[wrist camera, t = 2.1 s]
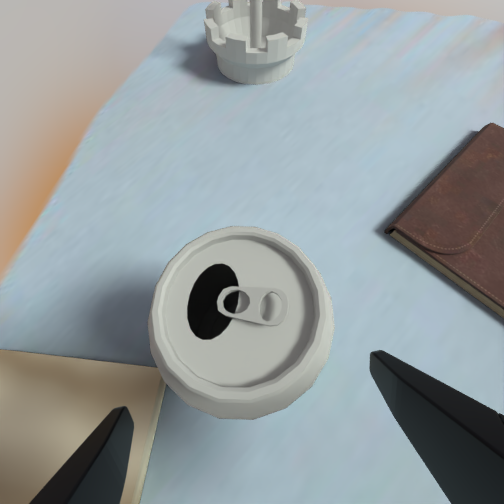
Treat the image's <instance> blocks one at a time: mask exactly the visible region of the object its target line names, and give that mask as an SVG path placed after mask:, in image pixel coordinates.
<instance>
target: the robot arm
mask: <svg viewBox="0 0 504 504" xmlns="http://www.w3.org/2000/svg"><path fill="white" fill-rule="evenodd" d="M370 373H371V375H372V377H373V379H374V381H375V383H376V385H377V386H378V388H379V390H380V392H381V394H382V396H383V398H384V399H385V401H386V403H387V405H388V407H389V409H390V411H391V412H392V414H393V416H394V418H395V419H396V421H397V422H398V424H399V425H400V427H401V428H402V430H403V431H404V433H405V434H406V436H407V437H408V439H409V440H410V442H411V444H412V445H413V447H414V448H415V450H416V451H417V453H418V454H419V456H420V457H421V459H422V460H423V462H424V463H425V465H426V466H427V468H428V469H429V471H430V472H431V474H432V475H433V477H434V478H435V480H436V481H437V483H438V484H439V486H440V487H441V489H442V490H443V492H444V493H445V495H446V496H447V498H448V499H449V501H450V503H451V504H504V415H502V414H500V413H499V414H498V413H497V412H496V411H494V410H493V409H491V408H489V407H487V406H485V405H483V404H481V403H480V402H478V401H476V400H474V399H472V398H470V397H468V396H467V395H465V394H463V393H461V392H459V391H457V390H455V389H454V388H452V387H450V386H448V385H446V384H444V383H442V382H440V381H439V380H437V379H435V378H433V377H431V376H429V375H427V374H426V373H424V372H422V371H420V370H418V369H416V368H414V367H413V366H411V365H409V364H407V363H405V362H403V361H401V360H400V359H398V358H396V357H394V356H392V355H390V354H388V353H386V352H385V351H382V350H378V351H373V352H371V353H370ZM133 432H134V421H133V419H132V417H131V414H130V412H129V410H128V408H127V407H126V406H121V407H117V408H114V409H112V410H111V411H110V413H109V414H108V415H107V416H106V417H105V418H104V419H103V420H102V422H101V423H100V424H99V425H98V426H97V427H96V428H95V429H94V431H93V432H92V433H91V434H90V435H89V436H88V437H87V438H86V440H85V441H84V442H83V443H82V444H81V445H80V446H79V447H78V449H77V450H76V451H75V452H74V453H73V454H72V455H71V456H70V458H69V459H68V460H67V461H66V462H65V463H64V464H63V465H62V467H61V468H60V469H59V470H58V471H57V472H56V473H55V474H54V476H53V477H52V478H51V479H50V480H49V481H48V482H47V483H46V485H45V486H44V487H43V488H42V489H41V490H40V491H39V492H38V494H37V495H36V496H35V497H34V498H33V499H32V500H31V501H30V503H29V504H120V501H121V497H122V493H123V489H124V485H125V480H126V475H127V469H128V463H129V457H130V451H131V444H132V438H133Z"/></svg>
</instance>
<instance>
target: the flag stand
mask: <svg viewBox="0 0 504 504" xmlns="http://www.w3.org/2000/svg"><path fill="white" fill-rule="evenodd" d="M281 4H282V0H263V2H262V0H250V2H247V0H229V6H227V7H224V8H222V9H221V3H220V2H217V1H213V2H212V3H211V4H209V5H208V7H207V8H206V9H205V10H206V18H207V19H204V24H205V31H206V38H207V43H208V45H209V47H210V48H211V49H212V50H213V52H215V53H216V55H217V63H218V68H219V70H220V71H221V73H222V74H223V75H224V76H226V77H227V78H229V79H231V80H233V81H236V82H239V83H243V84H251V85H260V84H268V83H272V82H275V81H278V80H280V79H282V78H284V77H285V76H287V75H288V74H289V73H290V72H291V70H292V68H293V66H294V59H295V53H297V52H298V51H299V50H300V49H301V48H302V46H303V44H304V42H305V36H306V30H307V23H308V18H305V13H306V7H305V6H304V5H303V4H302V3H301V2H299V1H298V0H294V1H291V2H290V8H289V7H286V6H283V5H281Z"/></svg>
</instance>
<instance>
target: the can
mask: <svg viewBox="0 0 504 504" xmlns="http://www.w3.org/2000/svg"><path fill="white" fill-rule="evenodd" d="M334 329H335V327H334V318H333V309H332V300H331V297H330V294H329V292H328V290H327V287H326V285H325V283H324V281H323V278H322V276H321V274H320V272H319V271H318V270H317V269H316V267H315V265H314V264H313V263H312V262H311V261H310V260H309V258H308V257H307V256H306V255H305V254H304V253H303V251H302V250H301V249H300V248H299V247H298V246H296V245H295V244H293V243H292V242H290V241H289V240H287V239H285V238H284V237H282V236H281V235H279V234H277V233H274V232H271V231H267V230H264V229H261V228H257V227H240V226H230V227H226V228H223V229H219V230H215V231H211V232H207V233H205V234H204V235H202V236H200V237H198V238H197V239H195V240H193V241H191V242H190V243H188V244H186V245H185V246H184V247H183V248H182V249H181V250H180V251H179V252H178V253H177V254H176V255H175V256H174V257H173V258H172V259H171V260H170V261H169V262H168V264H167V266H166V267H165V269H164V271H163V273H162V275H161V277H160V278H159V280H158V282H157V284H156V286H155V290H154V294H153V298H152V303H151V308H150V313H149V318H148V331H149V341H150V350H151V354H152V357H153V359H154V361H155V363H156V365H157V367H158V369H159V371H160V374H161V376H162V378H163V380H164V382H165V383H166V384H167V385H168V386H169V387H170V388H171V389H172V390H173V391H174V392H175V393H176V394H177V395H178V396H179V397H180V398H181V399H182V400H183V401H184V402H185V403H186V404H187V405H189V406H191V407H193V408H196V409H198V410H200V411H203V412H205V413H207V414H210V415H212V416H214V417H217V418H219V419H246V420H254V419H257V418H260V417H263V416H265V415H268V414H271V413H274V412H277V411H280V410H283V409H285V408H287V407H288V406H289V405H290V404H292V403H293V402H294V401H295V400H296V399H298V398H299V397H300V396H301V395H302V394H304V393H305V392H306V391H307V390H308V389H310V388H311V387H312V385H313V384H314V382H315V380H316V379H317V377H318V375H319V373H320V372H321V370H322V368H323V367H324V365H325V363H326V362H327V360H328V358H329V353H330V348H331V343H332V338H333V333H334Z"/></svg>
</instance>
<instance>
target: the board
mask: <svg viewBox="0 0 504 504" xmlns="http://www.w3.org/2000/svg"><path fill="white" fill-rule="evenodd" d="M165 387H166V383H165V382H164V380H163V378H162V376H161V374H160V371H159V369H158V367H149V366H141V365H132V364H124V363H115V362H107V361H98V360H90V359H81V358H73V357H64V356H56V355H47V354H39V353H30V352H22V351H12V350H1V349H0V504H29V503H30V501H31V500H32V499H33V498H34V497H35V496H36V495H37V494H38V492H39V491H40V490H41V489H42V488H43V487H44V486H45V485H46V483H47V482H48V481H49V480H50V479H51V478H52V477H53V476H54V474H55V473H56V472H57V471H58V470H59V469H60V468H61V467H62V465H63V464H64V463H65V462H66V461H67V460H68V459H69V458H70V456H71V455H72V454H73V453H74V452H75V451H76V450H77V449H78V447H79V446H80V445H81V444H82V443H83V442H84V441H85V440H86V438H87V437H88V436H89V435H90V434H91V433H92V432H93V431H94V429H95V428H96V427H97V426H98V425H99V424H100V423H101V422H102V420H103V419H104V418H105V417H106V416H107V415H108V414H109V413H110V411H111V410H112V409H114V408H117V407H121V406H126V407H127V408H128V410H129V412H130V414H131V417H132V419H133V421H134V432H133V438H132V444H131V451H130V457H129V463H128V469H127V475H126V480H125V485H124V489H123V493H122V497H121V501H120V504H139V503H140V498H141V494H142V489H143V485H144V481H145V476H146V472H147V467H148V463H149V458H150V454H151V449H152V445H153V441H154V436H155V432H156V427H157V423H158V418H159V414H160V409H161V405H162V400H163V396H164V392H165Z"/></svg>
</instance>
